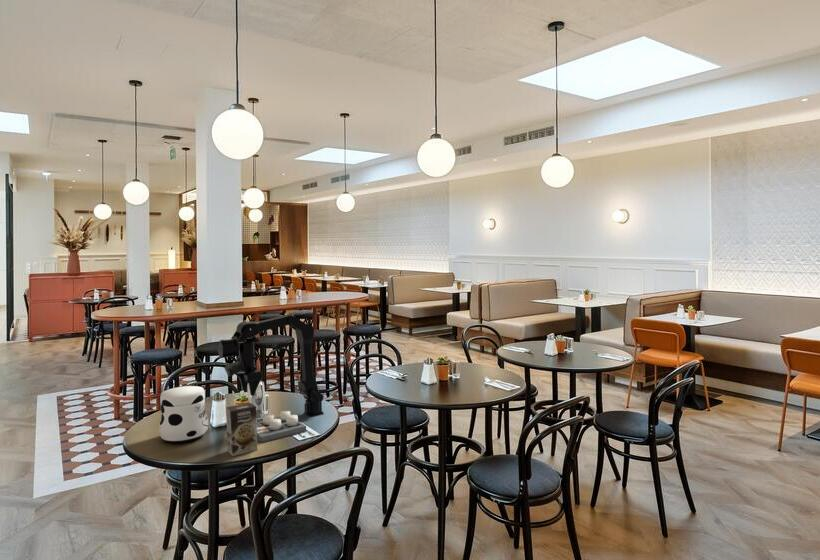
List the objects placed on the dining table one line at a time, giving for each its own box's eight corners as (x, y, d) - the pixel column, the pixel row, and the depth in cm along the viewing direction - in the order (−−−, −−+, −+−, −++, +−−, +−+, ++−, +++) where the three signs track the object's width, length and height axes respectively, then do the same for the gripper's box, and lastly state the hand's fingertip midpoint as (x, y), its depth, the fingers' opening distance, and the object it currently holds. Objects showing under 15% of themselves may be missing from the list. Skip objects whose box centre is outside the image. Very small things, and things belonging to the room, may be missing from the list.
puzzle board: (288, 420, 215) (288, 413, 215) (306, 431, 202) (306, 424, 201) (245, 430, 204) (245, 423, 204) (261, 442, 191) (261, 435, 190)
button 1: (271, 420, 208) (271, 413, 207) (275, 423, 204) (275, 416, 204) (261, 423, 205) (260, 415, 205) (265, 426, 201) (264, 418, 201)
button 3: (287, 416, 212) (287, 409, 212) (292, 419, 208) (292, 412, 208) (277, 419, 209) (277, 411, 209) (282, 422, 206) (281, 414, 205)
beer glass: (268, 415, 222) (266, 380, 221) (261, 420, 215) (260, 385, 214) (252, 414, 223) (251, 380, 221) (245, 420, 216) (244, 385, 215)
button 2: (278, 425, 202) (278, 417, 202) (283, 428, 199) (282, 420, 198) (267, 427, 199) (267, 420, 199) (272, 431, 196) (271, 423, 196)
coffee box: (232, 456, 179) (230, 411, 177) (226, 451, 184) (224, 406, 183) (258, 450, 184) (256, 406, 183) (252, 444, 189) (250, 401, 188)
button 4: (295, 421, 206) (294, 414, 206) (299, 424, 203) (299, 416, 203) (284, 423, 204) (284, 416, 203) (289, 426, 200) (289, 419, 200)
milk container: (218, 434, 200) (216, 389, 198) (176, 449, 186) (173, 401, 184) (192, 426, 210) (189, 382, 208) (150, 440, 195) (147, 393, 194)
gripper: (219, 353, 206) (220, 391, 207) (233, 361, 191) (235, 402, 192) (246, 349, 213) (248, 386, 214) (263, 357, 198) (264, 396, 199)
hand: (248, 392), depth 205 cm, fingers open, 9 cm apart
